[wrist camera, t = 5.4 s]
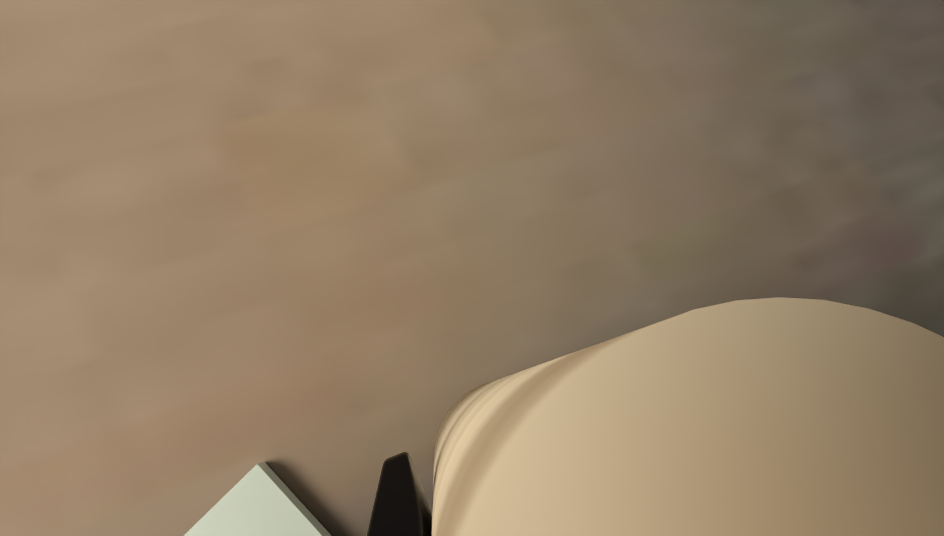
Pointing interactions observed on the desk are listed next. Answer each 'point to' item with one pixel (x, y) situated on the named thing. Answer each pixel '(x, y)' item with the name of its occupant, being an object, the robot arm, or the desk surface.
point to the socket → (259, 510)
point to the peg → (708, 431)
